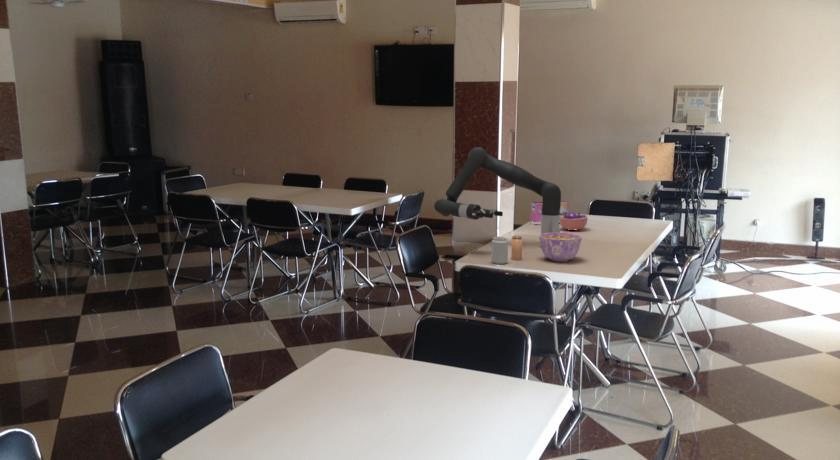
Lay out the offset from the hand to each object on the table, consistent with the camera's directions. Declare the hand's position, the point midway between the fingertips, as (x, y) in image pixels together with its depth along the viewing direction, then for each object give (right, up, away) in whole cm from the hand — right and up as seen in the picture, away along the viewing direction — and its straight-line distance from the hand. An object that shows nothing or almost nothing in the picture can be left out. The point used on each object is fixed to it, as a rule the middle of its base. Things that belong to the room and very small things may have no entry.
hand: (497, 214), depth 338 cm
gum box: (+44, -3, +104) cm, 113 cm away
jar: (+9, -21, -4) cm, 23 cm away
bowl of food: (+29, -22, -5) cm, 37 cm away
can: (0, -23, -12) cm, 26 cm away
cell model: (+54, -8, +78) cm, 95 cm away
